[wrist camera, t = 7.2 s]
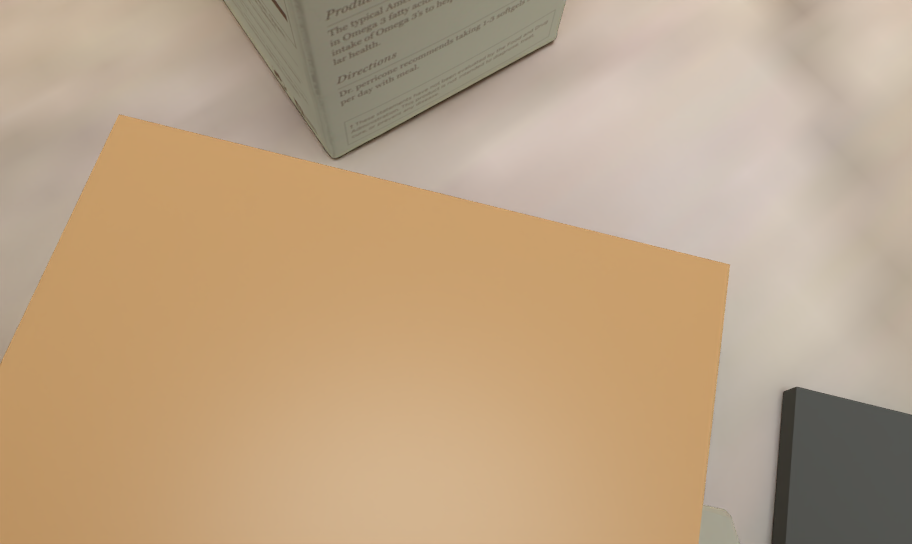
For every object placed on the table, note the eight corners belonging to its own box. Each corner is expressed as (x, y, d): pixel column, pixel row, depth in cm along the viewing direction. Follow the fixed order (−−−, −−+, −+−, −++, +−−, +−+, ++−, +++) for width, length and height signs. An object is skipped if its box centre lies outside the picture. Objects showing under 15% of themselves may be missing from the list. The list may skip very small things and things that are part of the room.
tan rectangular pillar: (181, 649, 12) (-235, 857, 4) (280, 353, 13) (119, 113, 6) (485, 730, 11) (635, 1093, 4) (546, 420, 13) (730, 264, 6)
